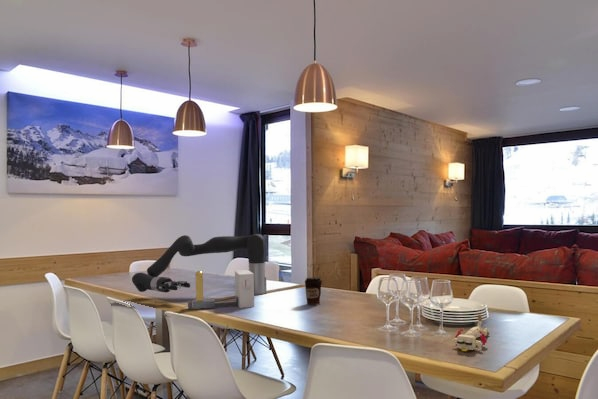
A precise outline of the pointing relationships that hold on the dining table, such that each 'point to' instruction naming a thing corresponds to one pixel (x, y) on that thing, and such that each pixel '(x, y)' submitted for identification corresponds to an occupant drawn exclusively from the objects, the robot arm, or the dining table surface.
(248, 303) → the cabinet
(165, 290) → the robot arm
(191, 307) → the rail
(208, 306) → the gold sphere topped award
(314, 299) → the coffee cup
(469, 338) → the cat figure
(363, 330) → the dining table surface
